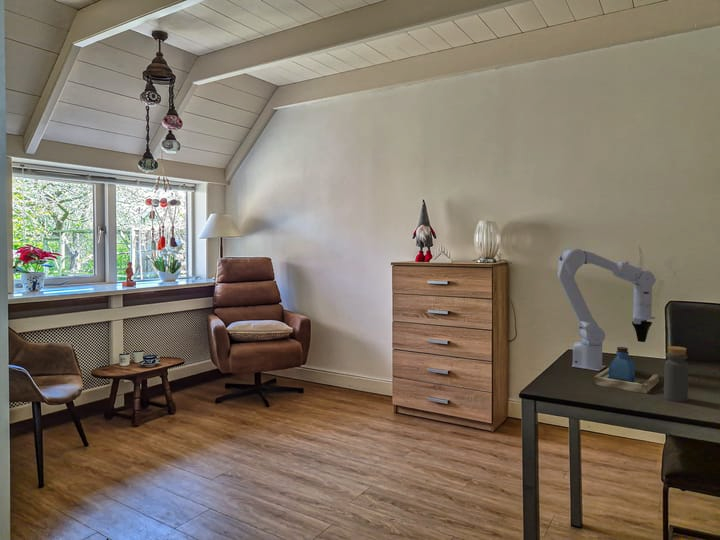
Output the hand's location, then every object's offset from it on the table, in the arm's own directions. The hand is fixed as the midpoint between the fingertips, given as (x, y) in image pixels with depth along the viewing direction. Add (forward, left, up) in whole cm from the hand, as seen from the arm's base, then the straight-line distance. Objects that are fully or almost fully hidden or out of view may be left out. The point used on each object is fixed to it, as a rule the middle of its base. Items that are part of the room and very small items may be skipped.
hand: (641, 341), depth 177 cm
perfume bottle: (0, -27, -10) cm, 29 cm away
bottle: (+16, -32, -10) cm, 37 cm away
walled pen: (+1, -23, -10) cm, 25 cm away
